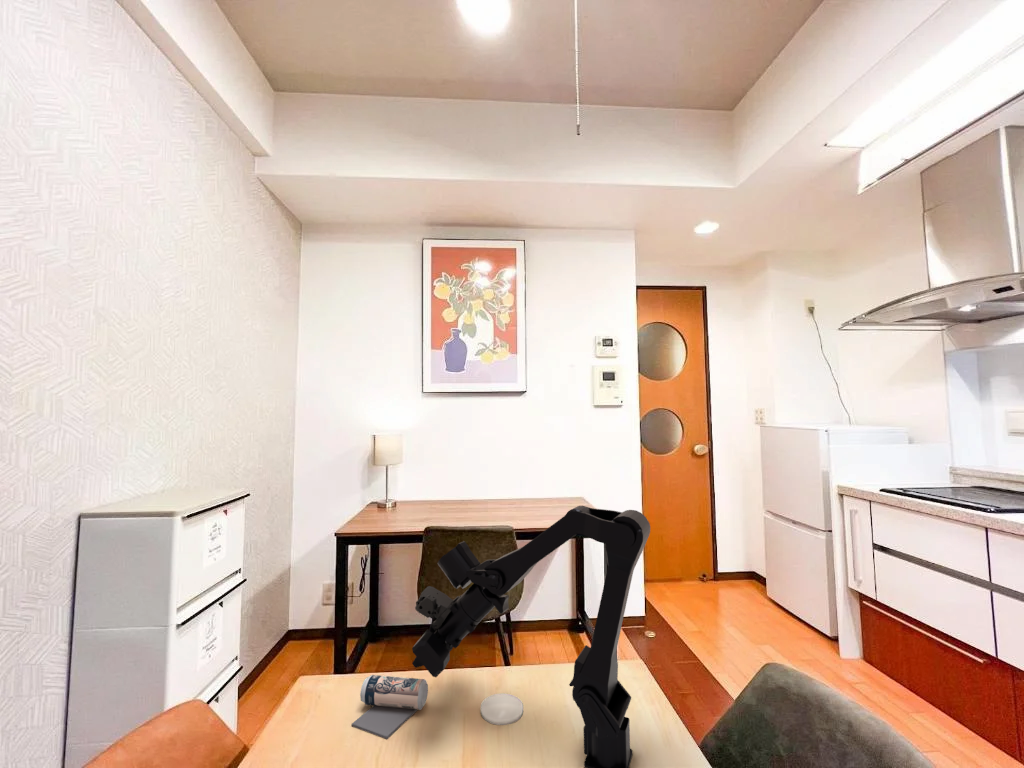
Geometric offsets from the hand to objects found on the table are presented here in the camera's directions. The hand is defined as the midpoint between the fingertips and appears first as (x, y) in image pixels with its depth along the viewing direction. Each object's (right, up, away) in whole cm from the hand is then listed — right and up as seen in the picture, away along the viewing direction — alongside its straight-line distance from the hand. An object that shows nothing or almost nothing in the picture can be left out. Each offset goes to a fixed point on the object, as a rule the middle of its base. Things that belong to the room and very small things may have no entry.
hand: (414, 664), depth 85 cm
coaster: (+17, -8, -1) cm, 18 cm away
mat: (-4, -8, -2) cm, 9 cm away
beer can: (+2, -5, -1) cm, 6 cm away
